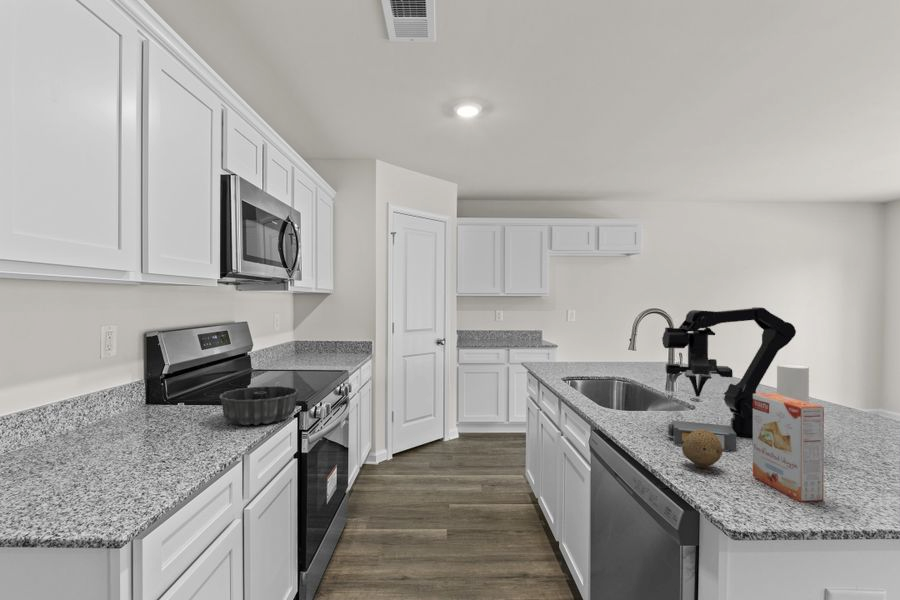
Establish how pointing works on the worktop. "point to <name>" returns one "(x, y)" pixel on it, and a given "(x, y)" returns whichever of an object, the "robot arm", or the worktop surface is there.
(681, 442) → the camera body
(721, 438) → the side cover
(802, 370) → the cylindrical container
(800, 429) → the cracker box
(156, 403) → the worktop surface
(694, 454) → the potato
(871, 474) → the worktop surface
